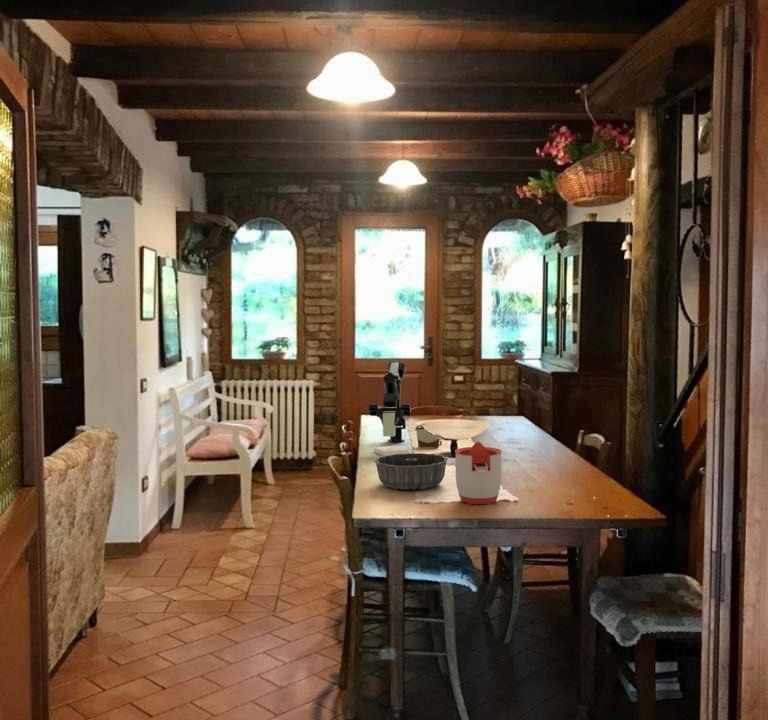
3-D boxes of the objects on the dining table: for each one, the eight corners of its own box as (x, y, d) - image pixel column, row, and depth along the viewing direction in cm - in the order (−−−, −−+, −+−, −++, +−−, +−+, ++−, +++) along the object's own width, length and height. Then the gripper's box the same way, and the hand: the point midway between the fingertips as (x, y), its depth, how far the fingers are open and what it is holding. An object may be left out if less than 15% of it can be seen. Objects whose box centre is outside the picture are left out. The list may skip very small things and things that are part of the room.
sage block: (384, 434, 353) (384, 412, 352) (395, 434, 352) (395, 412, 352) (383, 436, 348) (382, 414, 347) (394, 436, 347) (394, 414, 347)
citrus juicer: (458, 508, 251) (457, 447, 250) (453, 495, 269) (452, 438, 267) (506, 507, 251) (506, 446, 250) (498, 495, 269) (498, 437, 267)
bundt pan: (364, 482, 292) (363, 456, 292) (426, 475, 303) (426, 449, 302) (394, 497, 268) (393, 468, 268) (461, 489, 279) (460, 461, 278)
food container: (442, 445, 368) (441, 424, 368) (441, 447, 362) (441, 426, 362) (416, 445, 370) (415, 424, 369) (415, 447, 363) (414, 426, 363)
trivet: (374, 451, 354) (374, 447, 354) (398, 449, 359) (398, 445, 359) (384, 456, 343) (384, 451, 343) (409, 453, 348) (409, 449, 348)
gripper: (368, 386, 354) (366, 413, 343) (410, 386, 352) (408, 413, 341) (371, 401, 362) (368, 428, 352) (411, 401, 360) (410, 428, 350)
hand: (388, 424), depth 348 cm, fingers closed on sage block, 5 cm apart
